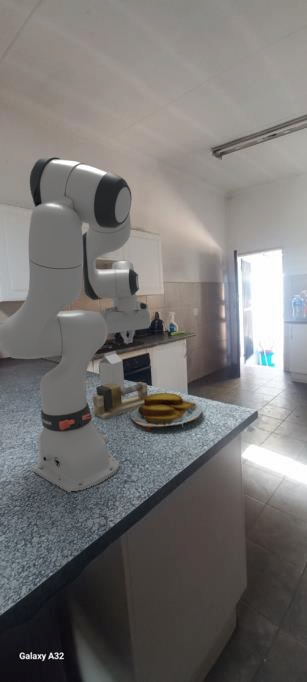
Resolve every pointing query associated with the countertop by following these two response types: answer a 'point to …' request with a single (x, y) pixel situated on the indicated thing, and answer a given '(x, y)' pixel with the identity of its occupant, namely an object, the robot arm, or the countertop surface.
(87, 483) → the robot arm
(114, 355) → the milk carton
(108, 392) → the dark grey hooked block
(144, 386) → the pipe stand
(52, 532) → the countertop surface
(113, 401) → the tan block
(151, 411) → the food on plate
